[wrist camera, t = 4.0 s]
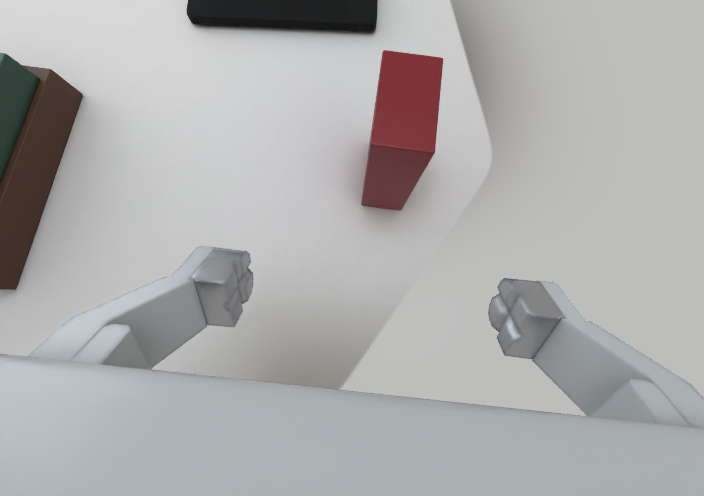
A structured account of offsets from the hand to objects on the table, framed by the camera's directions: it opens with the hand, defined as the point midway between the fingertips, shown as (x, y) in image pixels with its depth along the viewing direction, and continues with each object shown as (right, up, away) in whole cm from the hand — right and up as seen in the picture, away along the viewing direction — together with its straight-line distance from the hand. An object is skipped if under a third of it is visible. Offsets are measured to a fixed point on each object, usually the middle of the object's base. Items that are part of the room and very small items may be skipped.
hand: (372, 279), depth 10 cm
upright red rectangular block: (+2, +7, +16) cm, 18 cm away
